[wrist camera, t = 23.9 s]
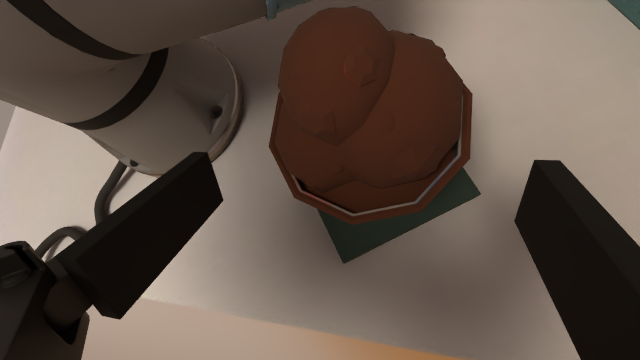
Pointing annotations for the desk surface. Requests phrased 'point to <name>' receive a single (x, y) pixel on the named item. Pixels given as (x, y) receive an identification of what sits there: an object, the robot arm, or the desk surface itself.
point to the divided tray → (629, 9)
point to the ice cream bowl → (367, 117)
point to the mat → (396, 220)
